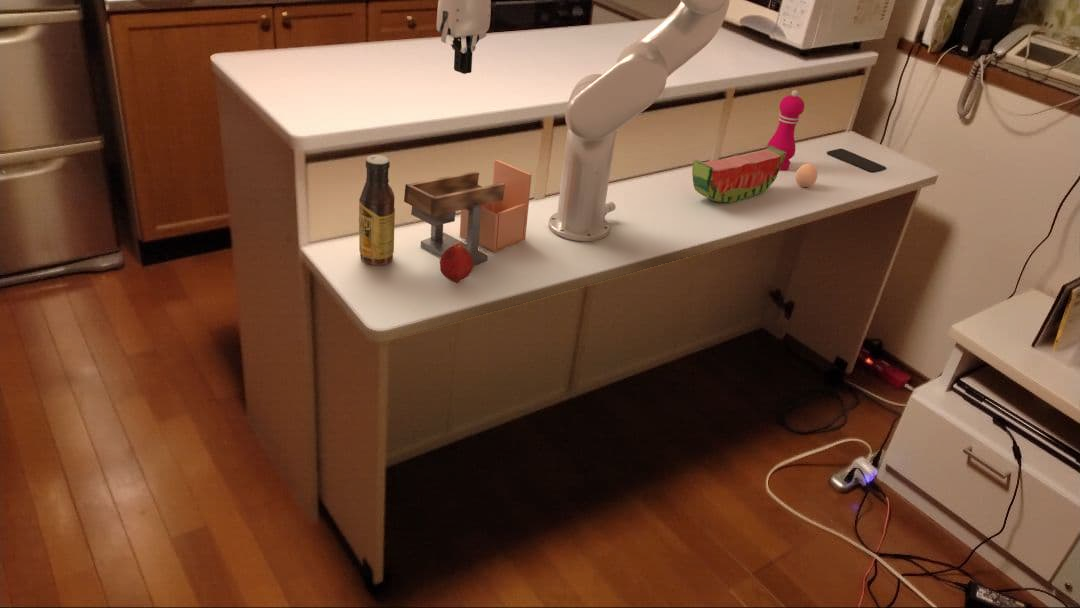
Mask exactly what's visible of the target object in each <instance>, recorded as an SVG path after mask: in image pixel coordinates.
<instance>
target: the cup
mask: <svg viewBox="0 0 1080 608" xmlns="http://www.w3.org/2000/svg"><path fill="white" fill-rule="evenodd" d="M493 163H494V164H493V177H492V179H493V180H492V185H494V184H499V183H504V184H505V189H504V196H503V200H502V201H498V202H493V203H489V204H485V205H481V221H480V236H479V247H480V248H482V249H483V250H485V251H487V252H489V253H491V254H495V253H497V252H501V251H503V250H505V249H506V248H510V247H511V246H514V245H516V244H519V243H521V242H523V241H525V240H526V235H527V226H528V216H529V206H530V195H531V185H532V184H531V183H532V175H533V174H532V173H529V172H527V171H525V170H522V169H520V168H518V167H515V166H513V165H510V164H508V163H506V162H504V161H501V160H500V159H494V162H493ZM468 212H469V211H468V210H466V209H463V210H460V225H459V226H460V227H459V237H461V238H463V239H465V240H466V241H467V230H468Z"/></svg>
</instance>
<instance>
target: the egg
mask: <svg viewBox="0 0 1080 608" xmlns="http://www.w3.org/2000/svg"><path fill="white" fill-rule="evenodd" d="M817 179H818V170H817V168H816V166H814V165H813V164H812V163H809V162H808V163H804V164H802V165H801V166H800V167H799V168H798V169H797V171H796V172H795V181H796V183H797V185H798V186H800V187H802V188H809V187H811V186H813V185H814V184H815V183H816V181H817Z"/></svg>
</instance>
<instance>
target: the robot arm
mask: <svg viewBox="0 0 1080 608" xmlns="http://www.w3.org/2000/svg"><path fill="white" fill-rule="evenodd" d="M491 2H492V1H491V0H438V2H437V14H436V31H437V32H438V33H440V34H441V37H440V38H441V39H440V41H441V42H442V43H443V44H447V45H450V46H451V49H452V51H454V56H453V57H454V61H453V70H454V71H455V72H458V73H461V74H463V75H465V74H470V73H471V74H472V71H473V70H472V69H473V68H472V67H473V52H475V51H476V48H477V44H478V42H479V41H481V40H482V39H484V38H486V37H487V32H488V31H489V29H490V24H491V11H492V9H491V8H492V5H491V4H492V3H491ZM730 3H731V0H680V3H679V4H678V6H676V8H675V9H674V10H673V11H672V12H671V13H670V14H669V15H668V16H667V17H665V18H664V19H663V20H662V21H661V22H659V24H657V25H656V26H654V27H653V28H652V29H651V30H649V31H648V32H647V33H645V34H644V35H643V36H640V38H638V39H637V40H635V41H634V42H633V43H631V44H630V45H628V46H626V47H625V48H623V50H622V51H621V52H620V53H619V56H618V58H617V60H616V63H615V64H614V65H612V67H611V68H610V69H608V70H607V71H605V72H604V73H603V74H601V73H593V74H588V75H587V76H584V77H583V78H581V79H580V80H579V81H578V82H577V83H576V84H575V86H574V87H573V89H572V90H571V94H570V97H569V98H568V101H567V104H566V107H565V113H564V115H565V117H564V118H565V119H564V120H565V124H566V127H567V133H566V139H565V146H564V154H563V163H562V171H561V179H560V187H559V188H560V189H559V197H558V204H557V206H558V207H557V211H556V212H555V213H554V214H552V215H551V216H550V217H549V219H548V227H549V229H550V230H551V232H552V233H554V234H556V235H557V236H559V237H561V238H563V239H566V240H570V241H577V242H594V241H599V240H601V239H603V238H605V237H606V236H608V234H609V232H610V224H609V223H608V221H607V220H606V216H607V215H608V213H611V212H613V211H615V210H616V203H614V202H613V201H610V202H608V203H606V202H607V196H608V188H609V182H610V176H611V170H612V169H611V167H612V163H613V162H612V161H613V156H614V151H615V144H616V136H617V130H619V129H621V127H623V126H624V125H626V124H628V123H629V122H630V121H631V120H633V119H634V118H636V117H637V116H638V115H640V114H641V113H642V112H644V111H645V110H646V109H648V108H649V107H651V105H653V104H654V103H655V102H656V101H657V100H658V99H659V98H660V96H661V95H662V94H663V92H664V89H666V88H665V87H666V84H667V80H668V77H670V76H671V75H672V74H673V73H674V72H676V71H677V70H678V69H680V68H681V67H683V65H685V64H686V63H687V62H688V61H690V60H691V59H692V58H694V57H695V56H696V55H697V54H699V52H701V51H702V50H703V49H704V48H705V47H706V46H707V45H708V44H709V43H711V41H712V40H713V39H714V38H715V36H716V35H717V34H718V32H719V31H720V29H721V27H722V25H723V24H724V21H725V18H726V16H727V12H728V10H729V7H730Z"/></svg>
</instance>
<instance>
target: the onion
mask: <svg viewBox="0 0 1080 608" xmlns="http://www.w3.org/2000/svg"><path fill="white" fill-rule="evenodd" d="M461 242H462V241H461ZM461 242H457V243H455V245H454V246H452V247H450V248H448V249H447V250H446V251H445V252H444V253H443V255H442V256H441V258H440V260H439V267H440V272H441V275H443V276H444V278H446V279H447V280H449V281H451V282H453V283H454V284H457V283H460V282H461V281H463V280H464V279H465V280H466V278H467V277H469V276H470V274H471V273H472V271H473V268H474V267H473V260H472V257H471V255H470V253H469V252H468V251H467V250H466V249H464V248H463V247H462V243H461Z"/></svg>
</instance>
